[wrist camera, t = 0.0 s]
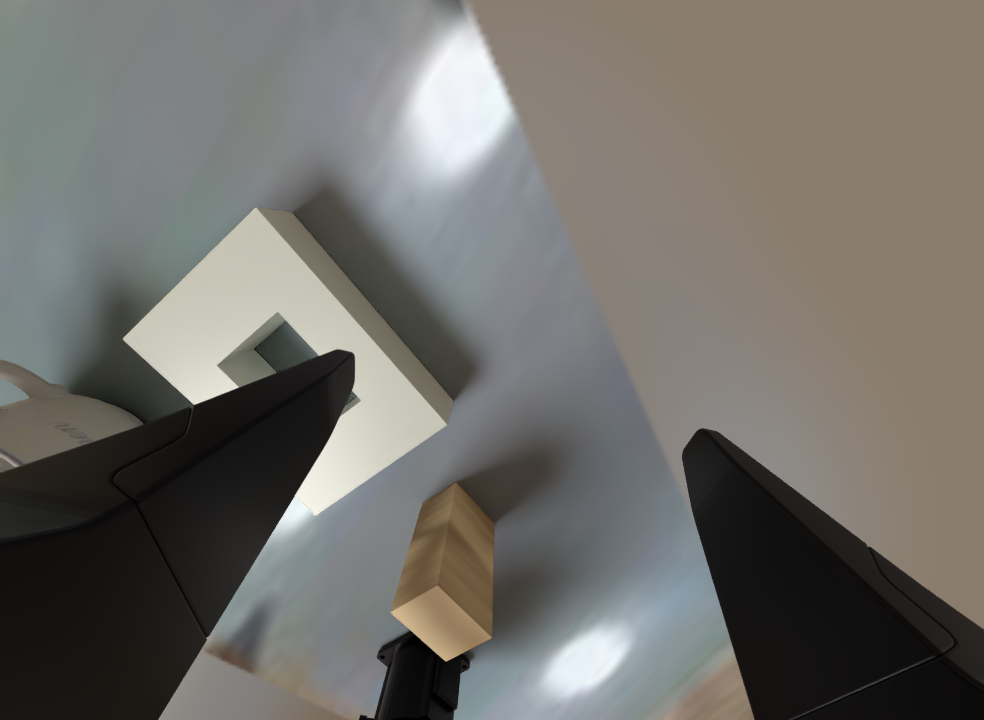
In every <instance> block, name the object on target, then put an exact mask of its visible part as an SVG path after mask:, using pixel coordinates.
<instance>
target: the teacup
mask: <svg viewBox="0 0 984 720" xmlns="http://www.w3.org/2000/svg"><path fill="white" fill-rule="evenodd" d="M0 378H2V379H5V380H7V381H8V382H10V383H12V384H14V385H15V386H17V387H18V388H20V389H21V390H22V391H24V392H25V393H26V394H27V395H28V396H29V397H30V398H29V399H26V400H22V401H19V402H15V403H12V404H8V405H5V406H2V407H0V472H2V471H5V470H8V469H11V468H14V467H17V466H20V465H23V464H27V463H30V462H33V461H36V460H39V459H42V458H45V457H48V456H51V455H54V454H57V453H60V452H63V451H66V450H69V449H72V448H75V447H78V446H81V445H84V444H88V443H91V442H94V441H97V440H100V439H103V438H106V437H108V436H111V435H114V434H117V433H120V432H123V431H126V430H129V429H132V428H135V427H137V426H140V425H143V423H142V422H141V421H140V420H139V419H138V418H137V417H135V416H134V415H132V414H131V413H129V412H127V411H125V410H123V409H121V408H119V407H117V406H114V405H111V404H108V403H105V402H103V401H100V400H97V399H94V398H90V397H86V396H81V395H73V394H71V392H70V391H69V390H68V389H67V388H66V387H64V386H62V385H59V384H50V383H48V382H47V381H45V380H44V379H42V378H41V377H39V376H37V375H36V374H34V373H32V372H31V371H29V370H27V369H25V368H23V367H21V366H18V365H16V364H14V363H11V362H8V361H4V360H0Z"/></svg>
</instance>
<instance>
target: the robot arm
mask: <svg viewBox="0 0 984 720" xmlns="http://www.w3.org/2000/svg"><path fill="white" fill-rule="evenodd" d="M354 383H355V355H354V353H353V352H350V351H345V350H341V349H336V350H333V351H331V352H328V353H325V354H323V355H320V356H318V357H315V358H313V359H310V360H308V361H305V362H302V363H300V364H297V365H295V366H292V367H290V368H287V369H285V370H282V371H280V372H277V373H274V374H272V375H269V376H267V377H264V378H262V379H259V380H257V381H254V382H251V383H249V384H246V385H244V386H241V387H239V388H236V389H234V390H231V391H228V392H226V393H223V394H221V395H218V396H216V397H213V398H211V399H208V400H205V401H203V402H200V403H198V404H195V405H193V406H192V409H191V408H190V407H187V408H185V409H182V410H180V411H177V412H175V413H172V414H170V415H167V416H164V417H162V418H159V419H156V420H154V421H151V422H148V423H145V424H143V425H140V426H137V427H135V428H132V429H129V430H126V431H123V432H120V433H117V434H114V435H111V436H108V437H106V438H103V439H100V440H97V441H94V442H91V443H88V444H84V445H81V446H78V447H75V448H72V449H69V450H66V451H63V452H60V453H57V454H54V455H51V456H48V457H45V458H42V459H39V460H36V461H33V462H30V463H27V464H23V465H20V466H17V467H14V468H11V469H8V470H5V471H2V472H0V720H158V719H159V717H160V716H161V714H162V712H163V711H164V709H165V707H166V706H167V704H168V703H169V701H170V699H171V698H172V696H173V694H174V693H175V691H176V690H177V688H178V686H179V685H180V683H181V681H182V680H183V678H184V676H185V675H186V673H187V672H188V670H189V668H190V666H191V665H192V663H193V662H194V660H195V658H196V657H197V655H198V654H199V652H200V650H201V649H202V647H203V645H204V644H205V642H206V640H207V639H206V637H208V636H209V635H210V634H211V632H212V630H213V629H214V627H215V625H216V624H217V622H218V621H219V619H220V617H221V616H222V614H223V612H224V611H225V609H226V607H227V606H228V604H229V603H230V601H231V599H232V598H233V596H234V594H235V593H236V591H237V589H238V588H239V586H240V585H241V583H242V581H243V580H244V578H245V576H246V575H247V573H248V572H249V570H250V568H251V567H252V565H253V563H254V562H255V560H256V558H257V557H258V555H259V554H260V552H261V550H262V549H263V547H264V545H265V544H266V542H267V540H268V539H269V537H270V536H271V534H272V532H273V531H274V529H275V527H276V526H277V524H278V523H279V521H280V519H281V518H282V516H283V514H284V513H285V511H286V509H287V508H288V506H289V505H290V503H291V501H292V500H293V498H294V496H295V495H296V493H297V491H298V490H299V488H300V487H301V485H302V483H303V482H304V480H305V478H306V477H307V475H308V474H309V472H310V470H311V469H312V467H313V465H314V464H315V462H316V460H317V459H318V457H319V456H320V454H321V452H322V451H323V449H324V447H325V446H326V444H327V442H328V440H329V439H330V437H331V435H332V433H333V431H334V429H335V426H336V424H337V422H338V420H339V418H340V415H341V413H342V411H343V409H344V407H345V404H346V402H347V400H348V398H349V396H350V393H351V391H352V389H353V386H354ZM682 460H683V466H684V471H685V476H686V482H687V487H688V492H689V497H690V502H691V507H692V512H693V516H694V519H695V523H696V526H697V530H698V533H699V536H700V540H701V543H702V546H703V550H704V553H705V556H706V560H707V563H708V566H709V570H710V573H711V576H712V580H713V583H714V586H715V590H716V593H717V596H718V599H719V603H720V606H721V609H722V613H723V616H724V619H725V623H726V626H727V629H728V633H729V636H730V639H731V643H732V646H733V649H734V653H735V656H736V659H737V663H738V666H739V669H740V673H741V676H742V679H743V683H744V686H745V689H746V693H747V696H748V699H749V703H750V706H751V709H752V713H753V716H754V719H755V720H984V629H983V628H981V627H980V626H978V625H977V624H975V623H974V622H973V621H971V620H970V619H968V618H967V617H966V616H964V615H963V614H961V613H960V612H958V611H957V610H956V609H954V608H953V607H951V606H950V605H948V604H947V603H946V602H944V601H943V600H942V599H940V598H939V597H937V596H936V595H935V594H933V593H932V592H931V591H929V590H927V589H926V588H925V587H923V586H922V585H921V584H919V583H918V582H917V581H915V580H914V579H913V578H911V577H910V576H908V575H907V574H906V573H904V572H903V571H902V570H900V569H899V568H898V567H896V566H895V565H894V564H892V563H891V562H890V561H888V560H887V559H886V558H884V557H883V556H882V555H880V554H879V553H878V552H876V551H875V550H874V549H872V548H871V547H867V545H866V543H864V542H863V541H862V540H860V539H859V538H858V537H857V536H855V535H854V534H852V533H851V532H850V531H848V530H847V529H846V528H845V527H843V526H842V525H841V524H839V523H838V522H837V521H835V520H834V519H833V518H831V517H830V516H829V515H827V514H826V513H825V512H823V511H822V510H821V509H819V508H818V507H817V506H815V505H814V504H813V503H812V502H810V501H809V500H808V499H806V498H805V497H803V496H802V495H801V494H800V493H798V492H797V491H796V490H794V489H793V488H792V487H790V486H789V485H788V484H786V483H785V482H784V481H782V480H781V479H780V478H778V477H777V476H776V475H774V474H773V473H772V472H770V471H769V470H768V469H767V468H765V467H764V466H762V465H761V464H760V463H759V462H757V461H756V460H755V459H753V458H752V457H750V456H749V455H748V454H747V453H745V452H744V451H743V450H741V449H740V448H739V447H737V446H736V445H735V444H733V443H732V442H731V441H729V440H728V439H727V438H725V437H724V436H723V435H721V434H720V433H719V432H717V431H713V430H709V429H704V428H702V429H699V430H698V431H697V432H696V433H695V434H694V435H693V437H692V438H691V440H690V441H689V442H688V444H687V445H686V447H685V448H684V450H683V454H682ZM377 658H378V659H379V660H380V661H381V662H382V663H383V664H385V665H386V666H387V667H388V668H387V672H386V676H385V679H384V683H383V687H382V691H381V695H380V698H379V702H378V706H377V710H376V714H375V717H374V719H373V718H367V716H364V715H360V718H359V720H453V718H454V710H456V709H457V705H458V695H459V684H460V673H462V672H464V671H466V670H468V669H469V668H470V661H469V660H468V659H467V658H466V657H465V656H464V655H463V654H460V655H458V656H456V657H454V658H452V659H450V660H448V661H444V660H443V659H442V658H441V657H440V656H439V655H438V654H437V653H435V652H434V651H433V650H432V649H431V648H430V647H429V646H428V645H426V644H425V643H424V642H423V641H422V640H421V639H420V638H419V637H417V636H416V635H415V634H414V633H413V632H411V633H409V634H407V635H406V636H404V637H402V638H400V639H398V640H397V641H395V642H393V643H391V644H389V645H387V646H386V647H384V648H382V649H380V650H379V652H378V655H377Z"/></svg>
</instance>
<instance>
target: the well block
mask: <svg viewBox="0 0 984 720" xmlns="http://www.w3.org/2000/svg"><path fill="white" fill-rule="evenodd" d="M285 321H287V322H288V323H289V324H290V325H291V326H292V327H293V328H294V329H295V331H296V332H297V333H298V334H299V335H300V336H301V337H302V338H303V339H304V340H305V341H306V342H307V343H308V344H309V345H310V347H311V348H312V349H313V350H314V351H315V352H316V353H317V354H318V355H319V356H320V355H323V354H325V353H328V352H331V351H333V350H336V349H341V350H345V351H350V352H353V353H354V355H355V383H354V386H353V389H352V391H353V392H354V393H355V394H356V396H357V397H356V398H355V399H354V400H352V401H351V402H350V403H348V404H347V405H346V406H345V407H344V409H343V411H342V413H341V415H340V418H339V420H338V422H337V424H336V426H335V429H334V431H333V433H332V435H331V437H330V439H329V440H328V442H327V444H326V446H325V447H324V449H323V451H322V452H321V454H320V456H319V457H318V459H317V460H316V462H315V464H314V465H313V467H312V469H311V470H310V472H309V474H308V475H307V477H306V478H305V480H304V482H303V483H302V485H301V487H300V488H299V490H298V491H297V493H296V495H295V496H294V497H295V498H296V499H298V500H299V501H300V502H301V503H302V504H303V505H304V506H305V507H306V508H307V509H308V510H310V511H311V512H312V513H313V514H314V515H315V516H316V515H317V514H319V513H320V512H321V511H323V510H324V509H326V508H327V507H329V506H330V505H332V504H333V503H335V502H336V501H337V500H339V499H340V498H342V497H343V496H345V495H346V494H348V493H349V492H351V491H352V490H353V489H355V488H356V487H358V486H359V485H361V484H362V483H364V482H365V481H367V480H368V479H369V478H371V477H372V476H374V475H375V474H377V473H378V472H380V471H381V470H383V469H384V468H385V467H387V466H388V465H390V464H391V463H393V462H394V461H396V460H397V459H398V458H400V457H401V456H403V455H404V454H406V453H407V452H409V451H410V450H412V449H413V448H414V447H416V446H417V445H419V444H420V443H422V442H423V441H425V440H426V439H428V438H429V437H430V436H432V435H433V434H435V433H436V432H438V431H439V430H441V429H442V428H444V427H445V426H446V425H447V424H448V421H449V417H450V414H451V410H452V407H453V403H454V401H453V400H452V399H451V397H450V396H449V395H448V394H447V393H446V392H445V390H444V389H443V388H442V387H441V386H440V385H439V383H438V382H437V381H436V380H435V379H434V378H433V376H432V375H431V374H430V373H429V372H428V371H427V369H426V368H425V367H424V366H423V365H422V364H421V362H420V361H419V360H418V359H417V358H416V357H415V355H414V354H413V353H412V352H411V351H410V350H409V348H408V347H407V346H406V345H405V344H404V343H403V341H402V340H401V339H400V338H399V337H398V336H397V334H396V333H395V332H394V331H393V330H392V329H391V327H390V326H389V325H388V324H387V323H386V322H385V320H384V319H383V318H382V317H381V316H380V315H379V313H378V312H377V311H376V310H375V309H374V308H373V306H372V305H371V304H370V303H369V302H368V301H367V299H366V298H365V297H364V296H363V295H362V294H361V292H360V291H359V290H358V289H357V288H356V287H355V285H354V284H353V283H352V282H351V281H350V280H349V278H348V277H347V276H346V275H345V274H344V273H343V271H342V270H341V269H340V268H339V267H338V266H337V264H336V263H335V262H334V261H333V260H332V259H331V257H330V256H329V255H328V254H327V253H326V251H325V250H324V249H323V248H322V247H321V246H320V244H319V243H318V242H317V241H316V240H315V239H314V237H313V236H312V235H311V234H310V233H309V232H308V230H307V229H306V228H305V227H304V226H303V225H302V223H301V222H300V221H299V220H298V219H297V218H296V216H295V215H294V214H293V213H292V212H286V211H279V210H271V209H264V208H257V207H256V208H255V209H254V210H253V211H252V212H251V213H250V214H249V215H248V216H247V217H246V218H245V219H244V220H243V221H241V222H240V223H239V224H238V225H237V226H236V227H235V228H234V229H233V230H232V231H231V232H230V233H229V234H228V235H227V236H226V237H225V238H224V239H223V240H222V241H221V242H220V243H219V244H218V245H217V246H216V247H215V248H214V249H213V250H212V251H211V252H210V253H209V254H208V255H207V256H206V257H205V258H204V259H203V260H202V261H201V262H200V263H199V264H198V265H197V266H196V267H195V268H194V269H193V270H192V271H191V272H190V273H189V274H188V275H187V276H186V277H185V278H184V279H183V280H182V281H181V282H180V283H179V284H178V285H177V286H176V287H175V288H174V289H172V290H171V291H170V292H169V293H168V294H167V295H166V296H165V297H164V298H163V299H162V300H161V301H160V302H159V303H158V304H157V305H156V306H155V307H154V308H153V309H152V310H151V311H150V312H149V313H148V314H147V315H146V316H145V317H144V318H143V319H142V320H141V321H140V322H139V323H138V324H137V325H136V326H135V327H134V328H133V329H132V330H131V331H130V332H129V333H128V334H127V335H126V336H125V337H124V338H123V340H124V341H125V342H126V343H127V344H128V345H129V346H130V347H131V348H133V349H134V350H135V351H136V352H137V353H138V354H139V355H140V356H141V357H142V358H144V359H145V360H146V361H147V362H148V363H149V364H150V365H151V366H152V367H153V368H154V369H156V370H157V371H158V372H159V373H160V374H161V375H162V376H163V377H164V378H165V379H166V380H168V381H169V382H170V383H171V384H172V385H173V386H174V387H175V388H176V389H177V390H178V391H180V392H181V393H182V394H183V395H184V396H185V397H186V398H187V399H188V400H189V401H190V402H192V403H193V404H194V405H195V404H198V403H200V402H203V401H205V400H208V399H211V398H213V397H216V396H218V395H221V394H223V393H226V392H228V391H231V390H234V389H236V388H239V387H241V386H244V385H246V384H249V383H251V382H254V381H257V380H259V379H262V378H264V377H267V376H269V375H272V374H274V373H277V372H276V371H275V370H274V369H273V368H272V367H271V366H270V365H269V364H268V363H267V362H266V361H265V360H264V359H263V358H262V357H261V356H260V355H259V354H258V353H257V352H256V351H255V350H254V348H255V347H257V346H258V345H259V344H260V343H261V342H262V341H263V340H265V339H266V338H267V337H268V336H269V335H270V334H272V333H273V332H274V331H275V330H276V329H277V328H278V327H280V326H281V325H282V324H283V323H284V322H285Z"/></svg>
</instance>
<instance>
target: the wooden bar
mask: <svg viewBox="0 0 984 720" xmlns="http://www.w3.org/2000/svg"><path fill="white" fill-rule="evenodd" d="M493 566H494V523H493V522H492V520H491V519H490V518H489V517H488V516H487V515H486V514H485V513H484V512H483V511H482V510H481V509H480V507H479V506H478V505H477V504H476V503H475V502H474V501H473V500H472V499H471V498H470V497H469V496H468V494H467V493H466V492H465V491H464V490H463V489H462V488H461V487H460V486H459V485H458V484H457V482H455V483H454V484H452V485H451V486H449V487H448V488H446V489H444V490H443V491H441V492H440V493H438V494H437V495H435V496H434V497H432V498H430V499H429V500H427V501H426V502H424V503H423V504H422V507H421V510H420V513H419V517H418V520H417V524H416V527H415V530H414V534H413V537H412V541H411V544H410V547H409V551H408V554H407V558H406V561H405V564H404V568H403V571H402V575H401V578H400V581H399V585H398V588H397V592H396V595H395V598H394V602H393V605H392V609H391V612H390V613H392V614H393V615H394V616H395V617H396V618H397V619H398V620H399V621H401V622H402V623H403V624H404V625H405V626H406V627H407V628H408V629H410V630H411V631H412V632H413V633H414V634H415V635H416V636H417V637H419V638H420V639H421V640H422V641H423V642H424V643H425V644H426V645H428V646H429V647H430V648H431V649H432V650H433V651H434V652H435V653H437V654H438V655H439V656H440V657H441V658H442V659H443V660H444V661H448V660H450V659H452V658H454V657H456V656H458V655H460V654H462V653H464V652H466V651H468V650H470V649H472V648H474V647H476V646H477V645H479V644H481V643H483V642H485V641H487V640H489V639H491V638H492V619H493Z"/></svg>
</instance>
